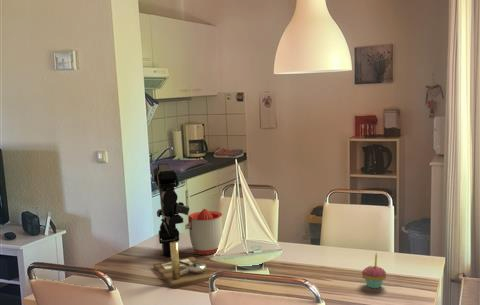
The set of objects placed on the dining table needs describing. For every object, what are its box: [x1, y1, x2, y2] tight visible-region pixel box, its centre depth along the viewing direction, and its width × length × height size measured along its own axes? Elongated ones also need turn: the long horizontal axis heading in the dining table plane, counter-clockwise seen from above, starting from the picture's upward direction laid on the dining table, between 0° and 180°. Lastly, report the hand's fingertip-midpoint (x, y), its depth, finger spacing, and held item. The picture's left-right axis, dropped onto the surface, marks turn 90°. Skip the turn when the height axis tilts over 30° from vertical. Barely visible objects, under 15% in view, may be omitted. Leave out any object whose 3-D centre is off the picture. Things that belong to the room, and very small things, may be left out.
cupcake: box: [361, 252, 387, 289], centre depth 174 cm, size 9×8×12 cm
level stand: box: [153, 256, 214, 289], centre depth 197 cm, size 26×18×2 cm
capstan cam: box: [170, 241, 207, 279], centre depth 195 cm, size 19×15×14 cm
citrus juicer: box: [184, 208, 223, 256], centre depth 222 cm, size 16×17×20 cm
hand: (171, 236), depth 205 cm, fingers closed
